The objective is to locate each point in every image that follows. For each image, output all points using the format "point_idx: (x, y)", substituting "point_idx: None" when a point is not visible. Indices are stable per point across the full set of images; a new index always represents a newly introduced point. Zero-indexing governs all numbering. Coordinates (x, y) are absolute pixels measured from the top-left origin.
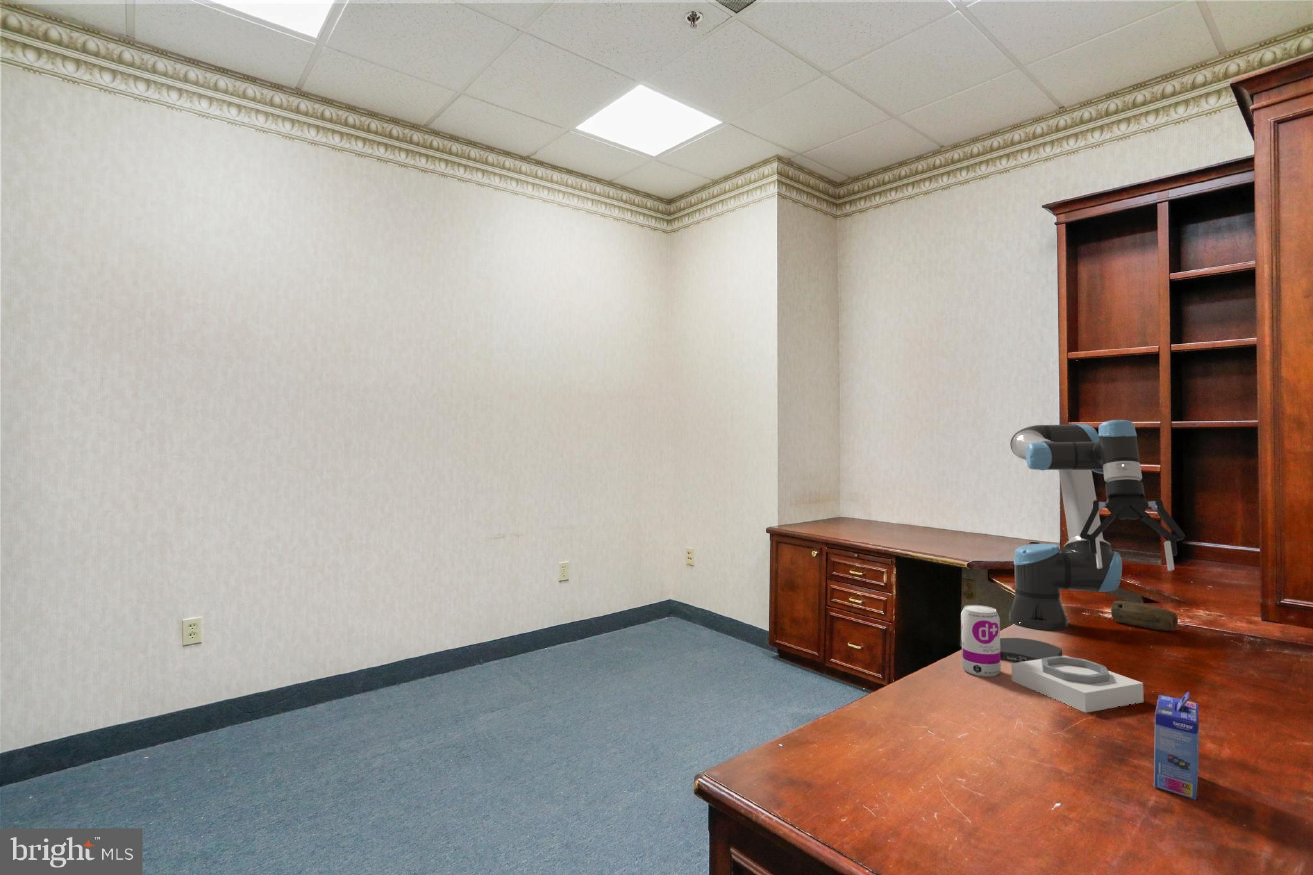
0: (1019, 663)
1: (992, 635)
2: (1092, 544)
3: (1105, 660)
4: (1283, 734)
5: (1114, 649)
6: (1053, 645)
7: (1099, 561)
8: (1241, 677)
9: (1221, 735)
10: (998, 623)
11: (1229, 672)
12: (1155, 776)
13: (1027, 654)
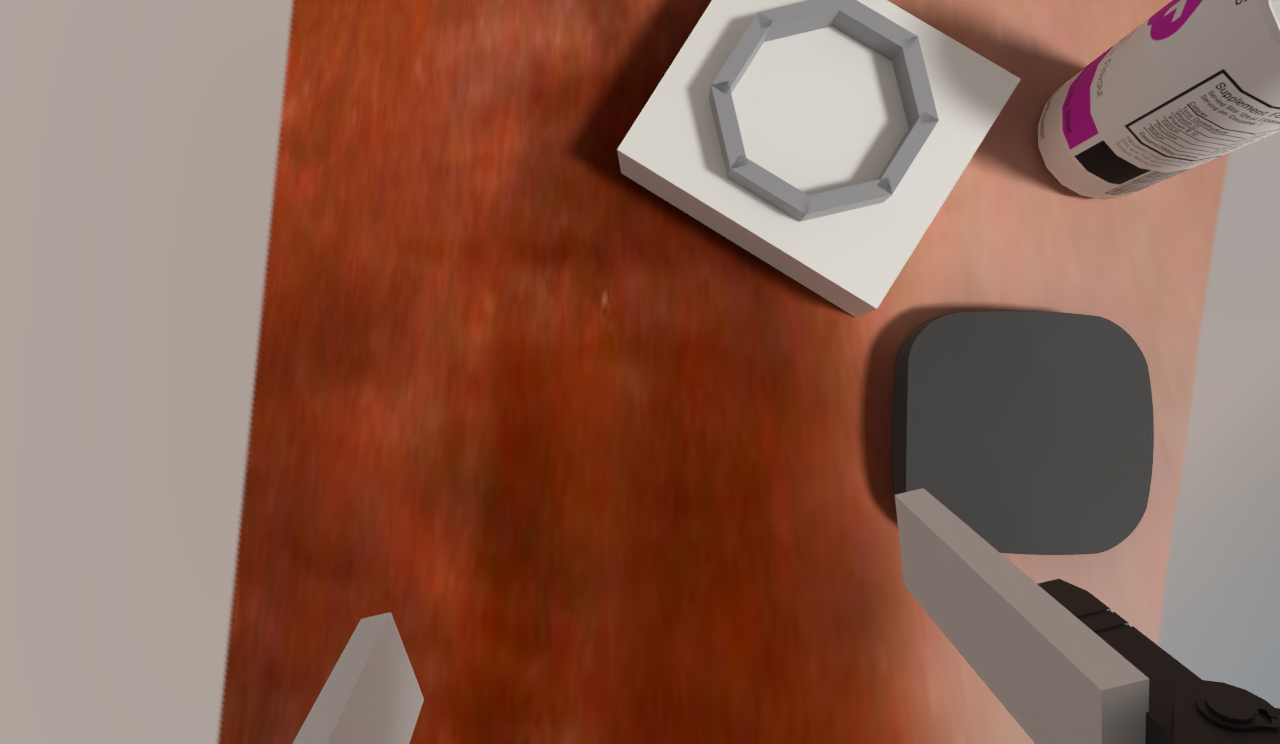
0: (996, 96)
1: (1167, 10)
2: (1134, 654)
3: (760, 555)
4: (313, 149)
5: (748, 732)
6: None
7: (941, 515)
8: None
9: (442, 37)
10: (1194, 21)
11: None
12: None
13: (1001, 328)
